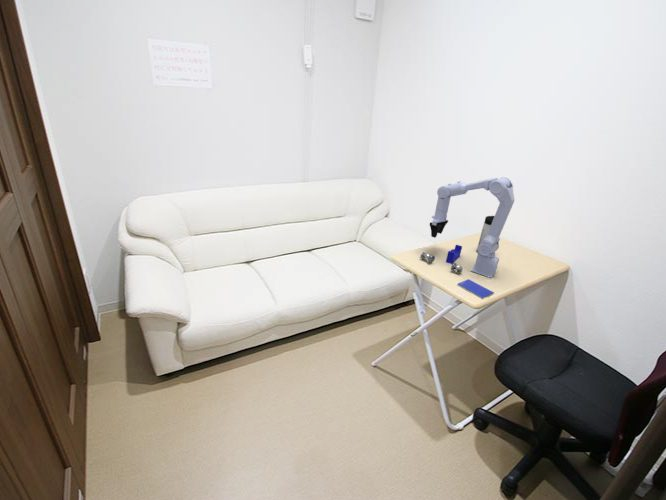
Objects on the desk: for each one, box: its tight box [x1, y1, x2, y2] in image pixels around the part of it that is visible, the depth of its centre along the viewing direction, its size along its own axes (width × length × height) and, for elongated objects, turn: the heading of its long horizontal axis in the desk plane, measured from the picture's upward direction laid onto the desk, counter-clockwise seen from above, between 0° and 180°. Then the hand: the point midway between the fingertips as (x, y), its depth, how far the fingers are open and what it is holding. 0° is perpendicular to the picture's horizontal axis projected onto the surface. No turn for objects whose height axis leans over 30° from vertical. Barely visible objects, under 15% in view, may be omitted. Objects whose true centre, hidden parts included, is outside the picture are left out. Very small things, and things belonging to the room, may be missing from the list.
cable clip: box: [445, 244, 463, 265], centre depth 174 cm, size 12×4×6 cm, turn 143°
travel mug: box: [476, 215, 495, 254], centre depth 181 cm, size 6×7×20 cm
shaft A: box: [450, 262, 463, 275], centre depth 161 cm, size 4×4×4 cm
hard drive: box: [456, 279, 495, 300], centre depth 148 cm, size 2×8×12 cm
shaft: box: [419, 251, 436, 263], centre depth 169 cm, size 6×4×4 cm, turn 33°
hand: (436, 235), depth 177 cm, fingers open, 7 cm apart
